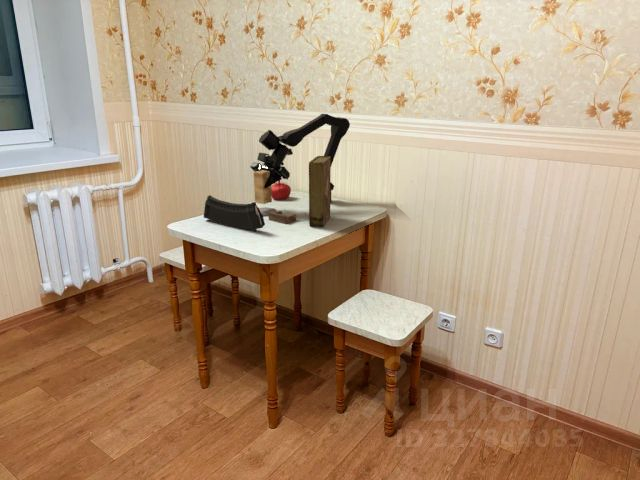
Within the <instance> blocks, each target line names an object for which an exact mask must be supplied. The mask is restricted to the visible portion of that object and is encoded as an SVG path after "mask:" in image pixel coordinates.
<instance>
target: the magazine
mask: <svg viewBox="0 0 640 480" xmlns="http://www.w3.org/2000/svg"><path fill="white" fill-rule="evenodd" d="M259 208H260V207H258V206H257V203H256V202H255V201H253V202H251V203H233V202H229V201H224V200H221V199H218V198H215V197H214V196H212V195H207V197H206V200H205V203H204V211H203V219H206V220H209V221H211V222H214V223H216V224H220V225H223V226H226V227H231V228H235V229H242V230H253V231H254V232H257V231H258V230H257V229H263V228H264V227H265V225H266V223H265V219H264V216H263V215H262V213H261V212H260V210H259Z"/></svg>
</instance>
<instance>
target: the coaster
mask: <svg viewBox="0 0 640 480" xmlns="http://www.w3.org/2000/svg"><path fill="white" fill-rule="evenodd" d="M258 208H259V210H260V212H261V213H262V215H263V217H269V213H270V212H272V213H274V212H277V209H276V208H273V207H258Z"/></svg>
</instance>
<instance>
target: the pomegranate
mask: <svg viewBox="0 0 640 480" xmlns="http://www.w3.org/2000/svg"><path fill="white" fill-rule="evenodd" d="M271 192H272V199H273V200H274V201H275V200H276V201H281V200H287V199H289V197H290V195H291V193H292V188H291V186H290V185H288V183H285V182H283V181H282V182H281V180H279V181H277V182H275V183H274V184H272V185H271Z"/></svg>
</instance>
